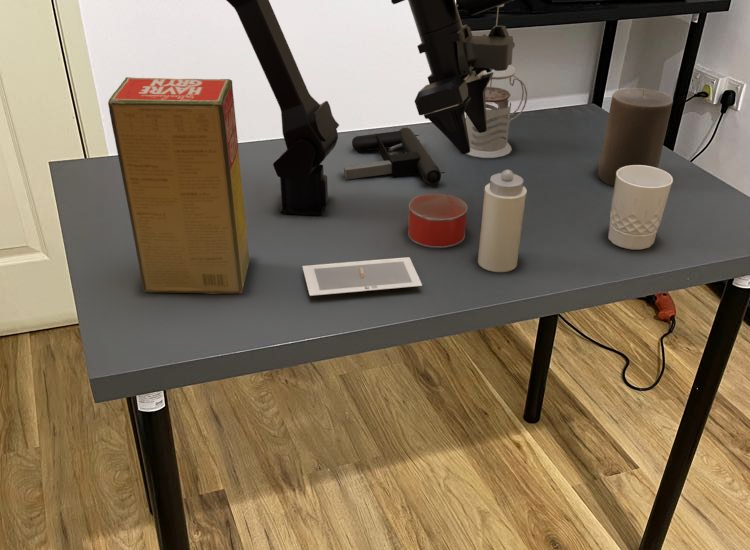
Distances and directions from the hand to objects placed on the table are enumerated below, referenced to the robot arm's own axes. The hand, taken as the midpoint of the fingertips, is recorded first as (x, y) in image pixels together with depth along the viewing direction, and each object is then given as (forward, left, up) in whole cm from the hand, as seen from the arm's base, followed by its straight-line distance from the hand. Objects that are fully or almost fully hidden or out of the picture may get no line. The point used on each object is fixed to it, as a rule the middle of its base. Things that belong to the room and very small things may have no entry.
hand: (475, 142), depth 116 cm
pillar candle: (+27, +23, -14) cm, 39 cm away
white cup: (+24, 0, -14) cm, 28 cm away
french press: (+4, +34, -14) cm, 37 cm away
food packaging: (-37, -17, -14) cm, 43 cm away
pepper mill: (+4, -9, -14) cm, 17 cm away
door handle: (-14, +23, -14) cm, 30 cm away
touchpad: (-14, -16, -14) cm, 26 cm away
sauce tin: (-5, -1, -14) cm, 15 cm away
